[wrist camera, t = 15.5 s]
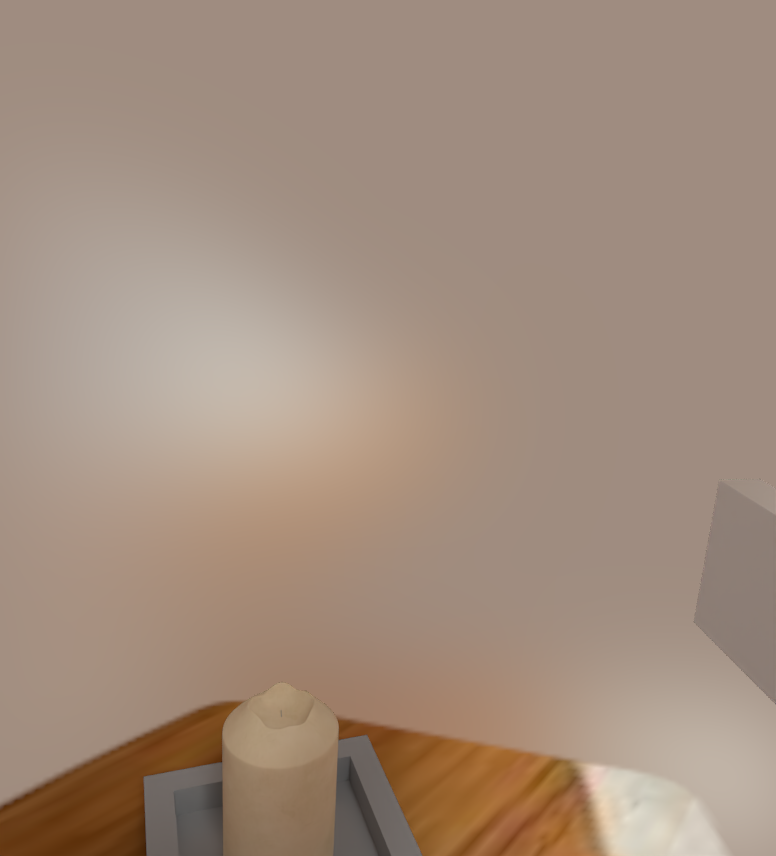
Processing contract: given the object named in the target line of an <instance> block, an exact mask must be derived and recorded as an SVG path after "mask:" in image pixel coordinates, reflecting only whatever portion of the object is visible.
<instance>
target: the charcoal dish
mask: <svg viewBox="0 0 776 856" xmlns="http://www.w3.org/2000/svg"><path fill="white" fill-rule="evenodd" d="M144 800H145V826H146V852H147V856H223V776H222V762H220V763H214V764H209V765H204V766H198V767H193V768H188V769H182V770H177V771H172V772H166V773H161V774H156V775H150V776H145V777H144ZM333 856H422V854H421V851H420V849H419V847H418V845H417V843H416V841H415V838H414V836H413V834H412V832H411V830H410V827H409V825H408V823H407V821H406V819H405V817H404V814H403V812H402V810H401V808H400V806H399V803H398V801H397V799H396V797H395V795H394V793H393V790H392V788H391V786H390V784H389V782H388V779H387V777H386V775H385V773H384V771H383V769H382V766H381V764H380V762H379V760H378V758H377V755H376V753H375V751H374V749H373V747H372V745H371V742H370V740H369V738H368V736H367V735H363V736H358V737H353V738H347V739H342V740H338V758H337V782H336V805H335V828H334V851H333Z"/></svg>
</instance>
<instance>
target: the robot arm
mask: <svg viewBox="0 0 776 856" xmlns="http://www.w3.org/2000/svg"><path fill="white" fill-rule="evenodd" d="M694 623H695V624H696V625H697V626H698V627H699V628H700V629H701V630H702V631H703V632H704V633H705V634H706V635H707V636H708V637H709V638H710V639H711V640H712V641H713V642H714V643H715V644H716V645H717V646H718V647H719V648H720V649H721V650H722V651H723V652H724V653H725V654H726V655H727V656H728V657H729V658H730V659H731V660H732V661H733V662H734V663H735V664H736V665H737V666H738V667H739V668H740V669H741V670H742V671H743V672H744V673H745V674H746V675H747V676H748V677H749V678H750V679H751V680H752V681H753V682H754V683H755V684H756V685H757V686H758V687H759V688H760V689H761V690H762V691H763V692H764V693H765V694H766V695H767V696H768V697H769V698H770V699H771V700H772V701H773V702H774V703H775V704H776V488H775V487H773V486H771V485H770V484H768V483H766V482H764V481H763V480H761V479H732V480H731V479H728V480H719V483H718V489H717V494H716V500H715V506H714V512H713V517H712V522H711V528H710V534H709V540H708V545H707V550H706V556H705V562H704V567H703V573H702V578H701V584H700V590H699V596H698V601H697V606H696V612H695V618H694Z"/></svg>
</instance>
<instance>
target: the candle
mask: <svg viewBox="0 0 776 856" xmlns="http://www.w3.org/2000/svg"><path fill="white" fill-rule="evenodd" d="M338 735H339V725H338V721H337V718H336V716H335V714H334V713H333V711H332V710H331V709H330V708H329V707H328V706H327V705H326V704H324V703H323V702H322V701H320V700H319V699H317V698H316V697H314V696H313V695H311V694H310V693H309V692H307V691H300V690H297V689H295V688H294V687H292V686H291V685H290V684H288V683H284V682H281V683H280V682H279V683H277V684H275V685H273V686H272V687H271V688H270V689H268V690H267V691H264V692H262V693H260V694H257V695H255V696H253V697H251V698H249V699H248V700H246V701H245V702H243V703H242V704H240V705H239V706H238V707H237V708H236V709H234V710H233V711H232V712H231V714H230V715H229V716H228V718H227V719H226V721H225V723H224V726H223V730H222V776H223V856H333V851H334V828H335V805H336V782H337V758H338Z"/></svg>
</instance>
